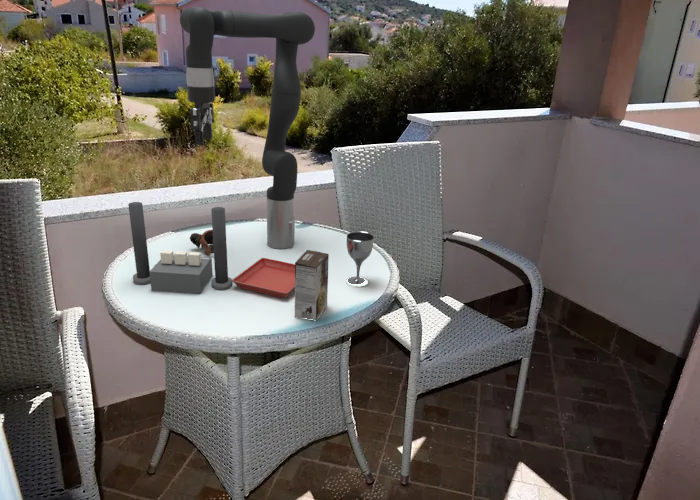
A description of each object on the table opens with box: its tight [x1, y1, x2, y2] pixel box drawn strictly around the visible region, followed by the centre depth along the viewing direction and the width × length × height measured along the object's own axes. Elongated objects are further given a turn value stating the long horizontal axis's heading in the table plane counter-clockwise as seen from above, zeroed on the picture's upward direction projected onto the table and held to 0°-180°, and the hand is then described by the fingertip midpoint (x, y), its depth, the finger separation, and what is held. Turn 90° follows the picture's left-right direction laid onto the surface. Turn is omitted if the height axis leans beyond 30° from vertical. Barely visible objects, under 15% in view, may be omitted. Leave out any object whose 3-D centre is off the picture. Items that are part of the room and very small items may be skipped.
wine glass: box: [346, 231, 375, 284], centre depth 155 cm, size 8×8×15 cm
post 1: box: [128, 201, 151, 286], centre depth 147 cm, size 6×6×24 cm
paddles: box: [159, 249, 202, 266], centre depth 149 cm, size 12×2×3 cm, turn 88°
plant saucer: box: [232, 257, 295, 299], centre depth 154 cm, size 18×18×3 cm
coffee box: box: [294, 249, 330, 321], centre depth 137 cm, size 9×6×16 cm
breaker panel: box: [149, 255, 213, 295], centre depth 150 cm, size 14×12×6 cm
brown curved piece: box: [189, 229, 214, 257], centre depth 173 cm, size 12×10×8 cm
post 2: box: [210, 206, 234, 291], centre depth 147 cm, size 6×6×24 cm
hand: (204, 141), depth 153 cm, fingers open, 8 cm apart
